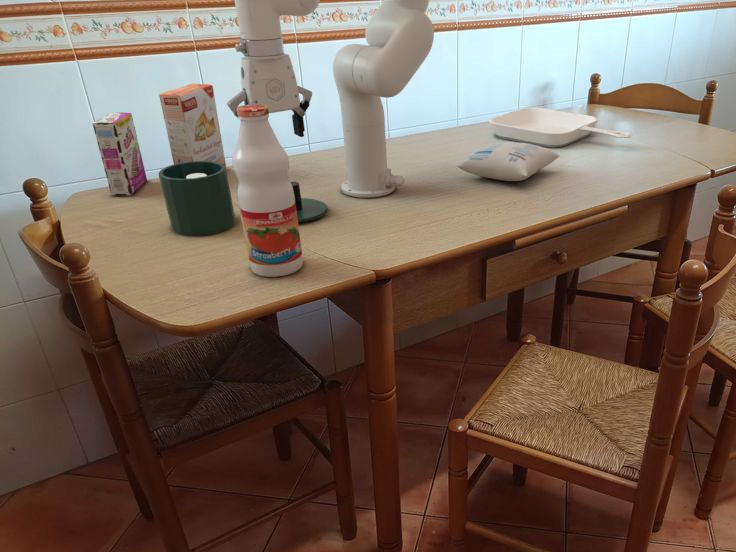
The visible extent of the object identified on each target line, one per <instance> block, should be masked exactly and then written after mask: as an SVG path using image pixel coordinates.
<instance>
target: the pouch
mask: <svg viewBox="0 0 736 552" xmlns="http://www.w3.org/2000/svg"><path fill="white" fill-rule="evenodd" d="M559 157H561V155H560V154H559V153H557V152H555V151H553V150H551V149H550V148H548V147H543V146H538V145H533V144H527V143H522V142H517V141H497V142H494V143H492V144H489V145H487V146H486V147H483V148H481V149H479V150H477V151H476V152H474V153H472V154H471V155H469V156H467V157H466V158H464V159H463V160H462V161H460V162H459V163H458V164H457V165H456V166H455V167H456V168H458V169H460V170H462V171H464V172H466V173H468V174H472V175H475V176H478V177H482V178H486V179H492V180H498V181H505V182H520V181H521V182H522V181H524V180H527V179H528V178H530V177H531V176H533V175H534V174H536V173H538V172H539V171H541V170H542V169H544V168H546V167H547V166H548V165H549V166H550V165H551V164H552V163H553V162H554V161H556V160H557V159H558V158H559Z"/></svg>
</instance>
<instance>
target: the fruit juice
mask: <svg viewBox="0 0 736 552" xmlns="http://www.w3.org/2000/svg"><path fill="white" fill-rule="evenodd" d="M237 115H238V118H237V119H238V120H239V122H240V125H239V129H238V137H237V141H236V142H237V143H236V147H235V149H234V152H233V154H232V159H231V162H232V163H231V164H232V168H233V172H234V174H235V176H236V178H237V181H238V185H237V190H236V194H237V202H238V207H239V212H240V218H241V224H242V225H241V226H242V229H243V235H244V240H245V247H246V251H247V258H248V262H249V266H250V269H251V271H252V272H253V273H254V274H255V275H257V276H261V277H264V278H265V277H267V278H277V277H278V278H279V277H284V276H288V275H291V274H294V273H296V272H298V271H299V270H300V269H301V268H302V267H303V264H304V256H303V249H302V242H301V235H300V227H299V222H298V219H297V211H296V203H295V196H294V191H293V187H292V184H291V182H292V181H290V179H289V171H290V160H289V156H288V155H289V154H288V153H287V151H286V150H285V149H284V148H283V146H282V145H281V143H280V141H279V140H278V138H277V137H278V136H277V135H276V134H275V131H274V128H272V125H271V124H270V121H269V117H270V113H269V110H268V107H267V106H266V105H261V104H249V105H245V104H243V105H240V106H239V105H238V107H237Z"/></svg>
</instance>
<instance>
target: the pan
mask: <svg viewBox="0 0 736 552" xmlns="http://www.w3.org/2000/svg"><path fill="white" fill-rule="evenodd" d="M598 121H599V119H598V117H595V116H594V115H593V116H592V115H588V114H582V113H576V112H570V111H563V110H556V109H551V108H544V107H531V106H530V107H521V108H519V109H516V110H512V111H510V112H507V113H503V114H500V115H498V116H495V117H492V118H490V119H489V120H488V123H489V125H490V126H491V128H492V130H493V133H494V135H495V137H497V138H498V139H502V140H506V141H511V142H520V143H527V144H533V145H537V146H540V147H544V148H563V147H566V146H568V145H571V144H573V143H575V142H578V141H579V140H582V139H584V138H586V137H588V136H589V135H590V134H591V133H598V134H601V135H603V134H604V135H607V136H610V137H614V138H619V139H630V138H632V137H633V134H632V133H631V132H628V131H623V130H611V129H604V128H597V127H595V126H596V125H597V123H598Z"/></svg>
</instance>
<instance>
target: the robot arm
mask: <svg viewBox="0 0 736 552" xmlns="http://www.w3.org/2000/svg"><path fill="white" fill-rule="evenodd" d="M320 1H321V0H234V6H235V11H236V17H237V23H238V29H239V36H240V39H239V41H240V42H239V43H236V44H234V49H235V51H236V53H241V54H242V55H243V56H241V57H240V82H241V91H239V93H237V94H236V95H235V96H233V97H232V98H231V99H230V100H228V101H226V102H227V103H226V104H227V107H228V108H229V109H230V111H231V112H232V113H233V115H234V116H235V117H236V118H237V119H239V118H238V115H237V107H239V105H240V104H242V103H243V105H249V104H261V105H266V106H267V107H268V110H269V114H274V113H281V112H286V111H292V112H293V114H292V115H291V119H292V126H293V134H294V135H295V136H298V137H300V138H304V137H305V134H304V133H305V121H304V117H305V116H306V112H307V110H308V109H309V107H310V105H311V104H310V102H311V100H312V97H313V92H312V90H309V89H306V88H305V87H302V86H301V85H300V86H299V85H298V83H297V78H296V73H295V71H294V70H295V69H294V66H293V64H292V60H291V57H290V55H289V54H287V53H285V48H284V40H283V33H282V27H281V18H280V17H281V16H290V17H291V16H292V17H306V16H309V15H310V14H312V13H314V12H315V11H316V10H317V8H318V6H319V5H320ZM429 3H430V0H382V2H381V4H380V5H379V6H378V7H377V9H376V11H374V13H372V15H371V16H370V19H369V20H368V22H367V24H366V27H365V30H364V35H365V41H366V43H367V44H360V43H351V44H350V43H349V44H347V45H344V46H342V47H340V48H339V49H338V51H336V53H335V55H334V57H333V61H332V74H333V79H334V82H335V86H336V90H337V93H338V98H339V103H340V104H339V106H340V113H341V124H342V125H341V126H342V134H343V145H344V147H343V148H344V157H345V170H346V181H344V182H343V183H342V184H341V186H340V188H341V192H342V194H344V195H346V196H349V197H354V198H362V199H363V198H364V199H366V198H379V197H383V196H386V195H389V194H391V193H393V192H394V191H395V189H396V187H405V185H406V184H405V183H406V179H405V178H404V176H403V175H399V174H398V175H395V174H393V173H392V168H389V167H388V159H387V156H388V155H387V140H386V125H385V123H386V118H385V110H384V106H383V105H384V104H383V101H382V99H381V98H394V97H395V96H397V95H399V94H400V93H401V92H402V91H403V90H404V89H405V88H406V86H407V85H408V84H409V83H410V81H411V80H412V79H413V77H414V76H415V75H416V73H417V71H418V70H419V69H420V67H421V66H422V64H423V63H424V62H425V60H426V59H427V57H428V56H429V54H430V52H431V50H432V47H433V43H434V37H435V30H434V25H433V22H432V20H431V19H430V17H429V16H428V15H427V14H426V12H427V10H428V8H429V5H430V4H429ZM300 94H301V95H302V99H300V98H301V97H300Z"/></svg>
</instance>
